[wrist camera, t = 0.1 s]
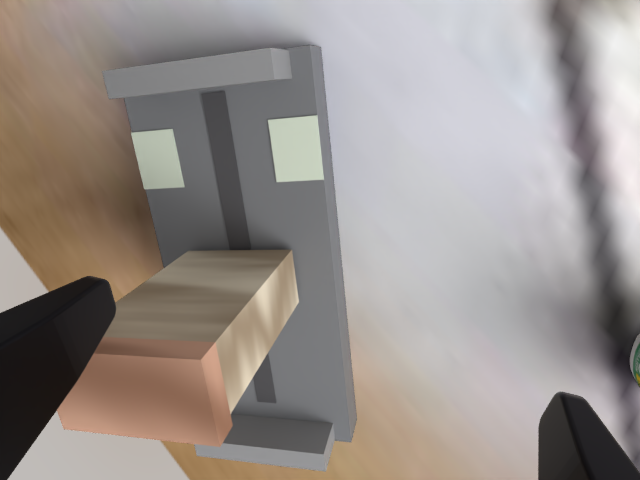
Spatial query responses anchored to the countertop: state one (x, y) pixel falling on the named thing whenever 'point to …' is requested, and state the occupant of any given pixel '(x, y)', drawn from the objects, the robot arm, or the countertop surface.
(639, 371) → the supplement bottle
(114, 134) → the countertop surface
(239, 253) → the wooden rectangular block
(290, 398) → the grooved grey tray
